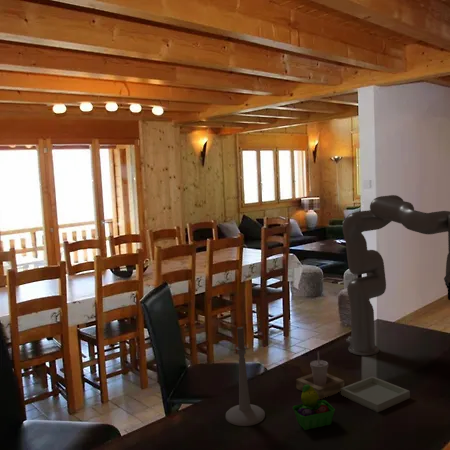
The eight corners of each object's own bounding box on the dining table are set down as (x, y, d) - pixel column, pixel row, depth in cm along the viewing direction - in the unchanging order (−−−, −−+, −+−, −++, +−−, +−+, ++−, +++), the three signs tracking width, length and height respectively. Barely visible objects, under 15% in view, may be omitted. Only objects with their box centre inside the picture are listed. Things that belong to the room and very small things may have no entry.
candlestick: (262, 426, 153) (257, 332, 150) (222, 425, 156) (216, 332, 153) (267, 407, 166) (262, 320, 163) (229, 406, 168) (224, 320, 165)
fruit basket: (302, 433, 148) (300, 397, 147) (290, 419, 157) (289, 385, 156) (336, 426, 151) (335, 390, 150) (323, 413, 160) (322, 379, 158)
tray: (340, 395, 171) (340, 388, 171) (372, 382, 180) (372, 376, 179) (377, 412, 158) (377, 405, 157) (409, 397, 166) (409, 390, 166)
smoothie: (308, 391, 176) (307, 353, 174) (314, 384, 181) (312, 347, 180) (326, 394, 173) (324, 355, 171) (331, 387, 178) (330, 349, 177)
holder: (296, 388, 179) (296, 379, 178) (321, 379, 185) (320, 370, 185) (319, 400, 169) (319, 390, 168) (344, 390, 175) (344, 380, 175)
